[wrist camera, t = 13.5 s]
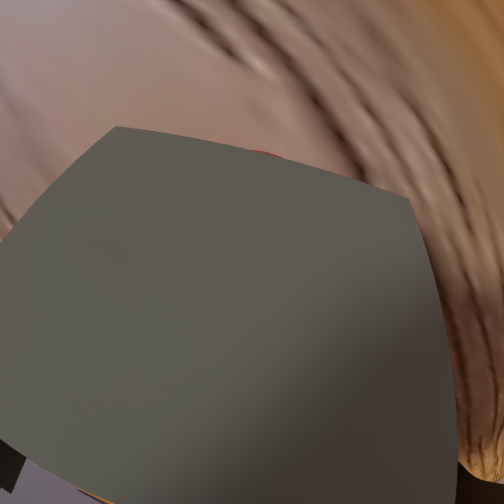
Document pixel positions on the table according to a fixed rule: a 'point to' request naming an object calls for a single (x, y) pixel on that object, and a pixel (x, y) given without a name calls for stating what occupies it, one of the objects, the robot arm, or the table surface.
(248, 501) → the grey angular block
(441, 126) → the table surface
